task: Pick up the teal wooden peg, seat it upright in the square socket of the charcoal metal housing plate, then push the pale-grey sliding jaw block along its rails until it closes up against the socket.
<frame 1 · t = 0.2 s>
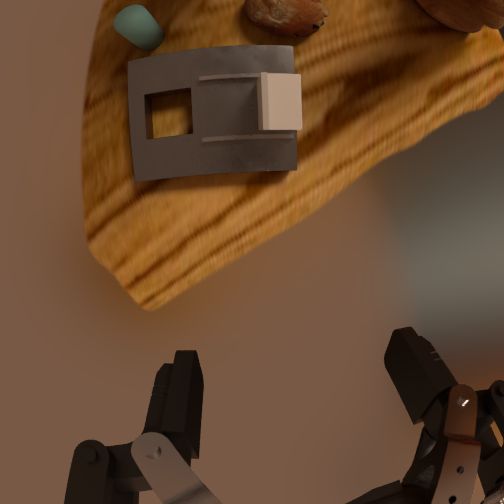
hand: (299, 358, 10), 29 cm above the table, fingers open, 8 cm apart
ceramic vessel: (428, 0, 22), on the table
housing: (212, 110, 31), on the table
peg: (149, 37, 26), on the table
bread roll: (285, 11, 26), on the table
jaw block: (278, 103, 26), point 6 cm above the table, slide at 0.0 cm
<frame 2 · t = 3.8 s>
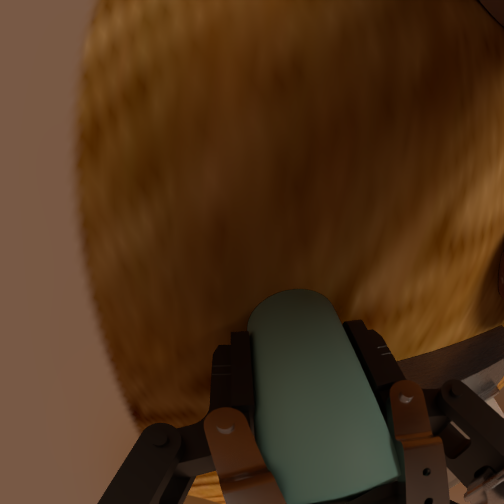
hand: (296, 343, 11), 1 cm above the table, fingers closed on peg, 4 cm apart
housing: (379, 421, 17), on the table
peg: (292, 326, 12), on the table, touching gripper
jaw block: (471, 443, 12), point 6 cm above the table, slide at 0.0 cm
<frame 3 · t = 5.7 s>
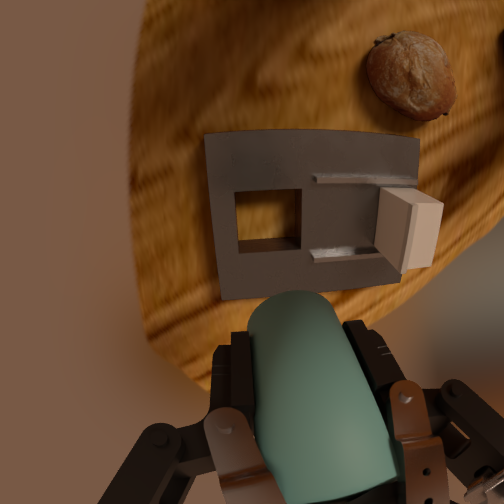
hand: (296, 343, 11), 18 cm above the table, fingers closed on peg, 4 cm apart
housing: (315, 209, 27), on the table
peg: (292, 327, 12), point 17 cm above the table, touching gripper
bread roll: (405, 77, 21), on the table
jaw block: (408, 227, 22), point 6 cm above the table, slide at 0.0 cm
when the fingers open (3 cm above the table, at t = 8.0 s): peg drops 2 cm, resting in housing.
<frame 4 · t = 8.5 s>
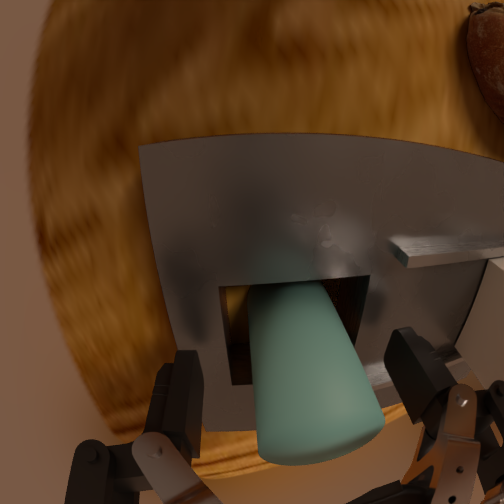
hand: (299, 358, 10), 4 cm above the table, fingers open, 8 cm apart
housing: (373, 290, 14), on the table
peg: (286, 299, 14), resting in housing
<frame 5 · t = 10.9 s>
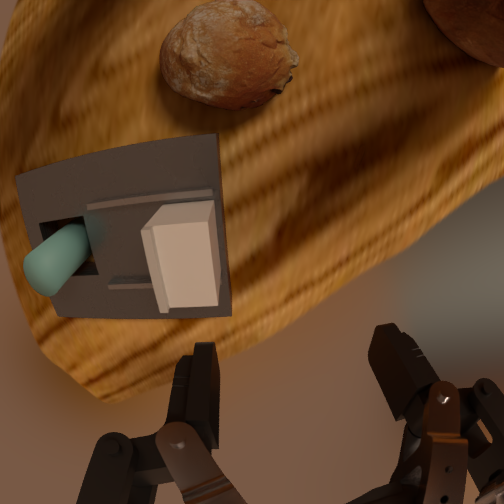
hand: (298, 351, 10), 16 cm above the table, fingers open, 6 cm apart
ceramic vessel: (448, 15, 15), on the table
housing: (122, 232, 24), on the table
peg: (82, 236, 24), resting in housing
bread roll: (230, 59, 19), on the table
jaw block: (187, 253, 19), point 6 cm above the table, slide at 0.0 cm
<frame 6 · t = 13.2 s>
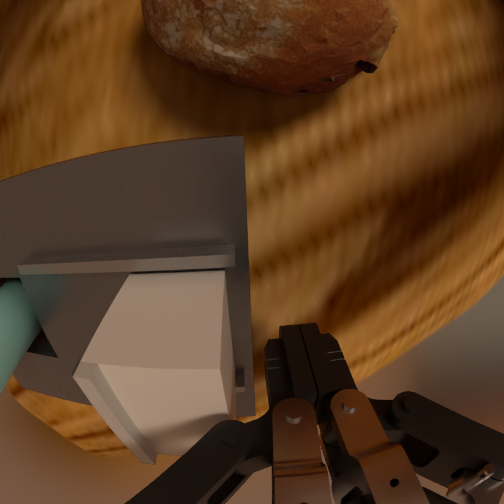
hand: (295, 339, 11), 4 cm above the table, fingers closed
housing: (85, 294, 15), on the table
peg: (34, 293, 14), resting in housing
bread roll: (271, 10, 9), on the table
jaw block: (177, 376, 9), point 6 cm above the table, slide at 0.5 cm, touching gripper
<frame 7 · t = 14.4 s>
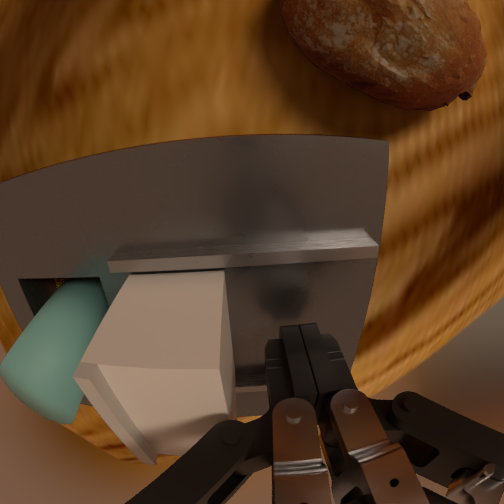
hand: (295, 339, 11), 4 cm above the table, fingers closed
housing: (168, 293, 15), on the table
peg: (94, 295, 15), resting in housing
bread roll: (377, 26, 9), on the table
jaw block: (177, 376, 9), point 6 cm above the table, slide at 6.0 cm, touching gripper
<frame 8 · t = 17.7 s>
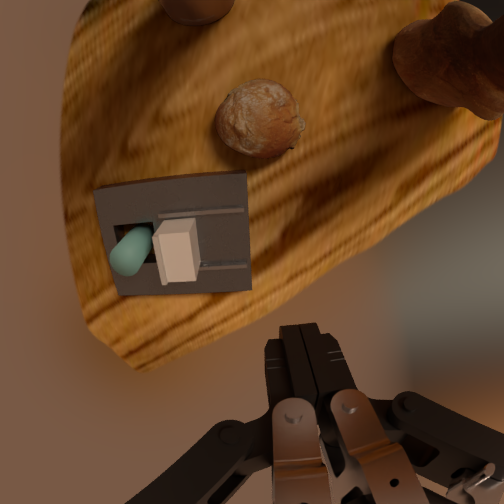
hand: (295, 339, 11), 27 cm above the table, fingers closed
ceramic vessel: (416, 67, 28), on the table
housing: (176, 233, 37), on the table
peg: (143, 235, 37), resting in housing
bread roll: (260, 120, 32), on the table
jaw block: (178, 250, 32), point 6 cm above the table, slide at 6.0 cm
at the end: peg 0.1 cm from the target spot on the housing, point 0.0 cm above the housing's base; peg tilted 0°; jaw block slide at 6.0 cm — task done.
